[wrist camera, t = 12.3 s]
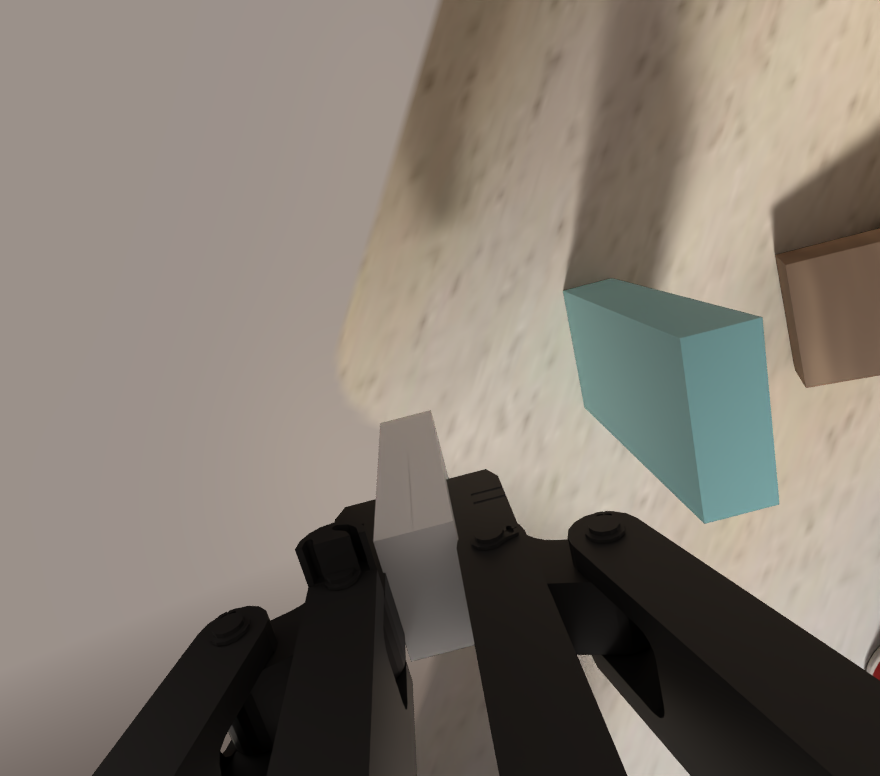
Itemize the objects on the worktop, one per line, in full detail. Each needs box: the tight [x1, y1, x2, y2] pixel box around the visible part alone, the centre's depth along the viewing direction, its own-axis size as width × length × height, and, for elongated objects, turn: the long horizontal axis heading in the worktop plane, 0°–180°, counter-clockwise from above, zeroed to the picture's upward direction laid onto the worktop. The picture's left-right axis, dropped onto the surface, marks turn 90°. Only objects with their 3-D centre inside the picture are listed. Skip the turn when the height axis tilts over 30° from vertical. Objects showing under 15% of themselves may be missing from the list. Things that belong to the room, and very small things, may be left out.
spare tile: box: [563, 278, 779, 524], centre depth 20 cm, size 2×5×10 cm, turn 14°
